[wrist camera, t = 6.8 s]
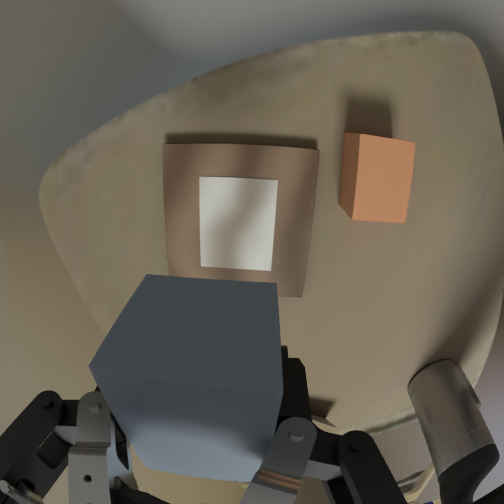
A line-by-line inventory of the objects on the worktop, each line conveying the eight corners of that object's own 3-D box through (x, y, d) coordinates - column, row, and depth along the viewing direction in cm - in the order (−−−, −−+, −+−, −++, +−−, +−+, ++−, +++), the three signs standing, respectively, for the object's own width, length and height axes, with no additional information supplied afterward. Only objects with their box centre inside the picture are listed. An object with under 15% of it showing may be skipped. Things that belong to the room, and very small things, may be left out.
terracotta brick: (391, 139, 24) (415, 142, 19) (384, 207, 27) (404, 223, 22) (343, 132, 24) (360, 133, 20) (338, 203, 27) (351, 219, 23)
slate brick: (276, 282, 11) (283, 391, 6) (264, 396, 14) (262, 482, 9) (146, 274, 11) (88, 365, 6) (169, 387, 14) (146, 467, 9)
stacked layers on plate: (269, 393, 45) (255, 420, 44) (279, 407, 37) (262, 438, 35) (318, 412, 45) (304, 437, 44) (336, 427, 36) (320, 456, 35)
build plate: (317, 149, 25) (319, 150, 24) (300, 291, 31) (302, 298, 30) (167, 143, 25) (162, 144, 24) (173, 282, 31) (170, 288, 30)
